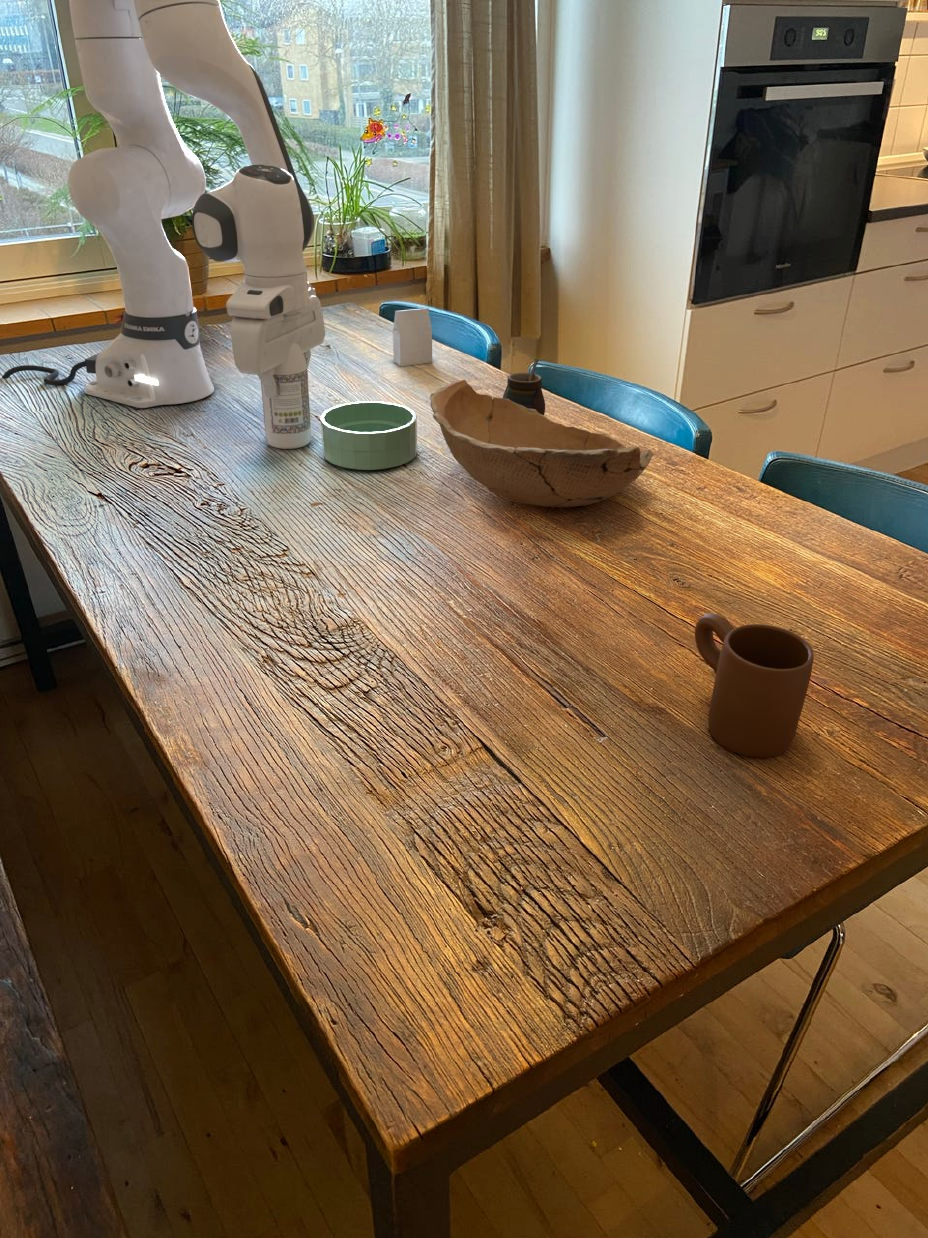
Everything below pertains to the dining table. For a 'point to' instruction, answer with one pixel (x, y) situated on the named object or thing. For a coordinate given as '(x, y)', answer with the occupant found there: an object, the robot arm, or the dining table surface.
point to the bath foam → (289, 404)
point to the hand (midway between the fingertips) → (287, 388)
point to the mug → (754, 684)
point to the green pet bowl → (369, 435)
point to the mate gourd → (526, 390)
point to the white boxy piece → (412, 337)
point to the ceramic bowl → (531, 451)
